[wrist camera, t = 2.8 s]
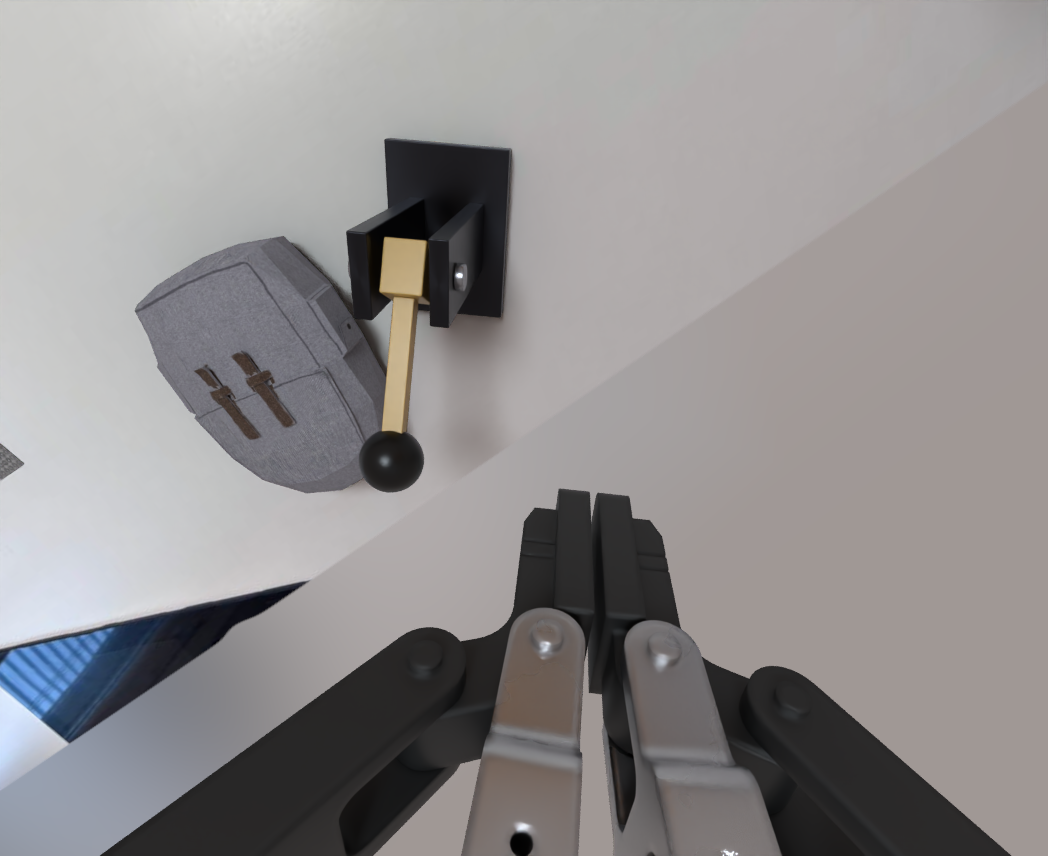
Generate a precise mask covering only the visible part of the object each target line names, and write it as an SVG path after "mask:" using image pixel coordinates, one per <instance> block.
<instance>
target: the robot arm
mask: <svg viewBox="0 0 1048 856" xmlns="http://www.w3.org/2000/svg"><path fill="white" fill-rule="evenodd" d="M587 647H588V675H589V693H596V694H602V704H603V719H604V724H603V729H602V735H603V745H604V754H605V764H606V774H607V782H608V792H609V802H610V811H611V821H612V830H613V847H614V848H613V856H1011V855H1010V854H1009V853H1008V852H1006V851H1005V850H1004V849H1003V848H1002V847H1001V846H1000V845H998V844H997V843H996V842H995V841H994V840H993V839H992V838H990V837H989V836H988V835H987V834H986V833H985V832H983V831H982V830H981V829H980V828H979V827H978V826H977V825H976V824H974V823H973V822H972V821H971V820H970V819H968V818H967V817H966V816H965V815H964V814H963V813H962V812H961V811H959V810H958V809H957V808H956V807H955V806H954V805H952V804H951V803H950V802H949V801H948V800H947V799H946V798H945V797H943V796H942V795H941V794H940V793H939V792H938V791H936V790H935V789H934V788H933V787H932V786H931V785H929V784H928V783H927V782H926V781H925V780H924V779H923V778H922V777H920V776H919V775H918V774H917V773H916V772H915V771H914V770H912V769H911V768H910V767H909V766H908V765H907V764H906V763H904V762H903V761H902V760H901V759H900V758H899V757H898V756H896V755H895V754H894V753H893V752H892V751H891V750H889V749H888V748H887V747H886V746H885V745H884V744H883V743H881V742H880V741H879V740H878V739H877V738H876V737H875V736H873V735H872V734H871V733H870V732H869V731H868V730H867V729H865V728H864V727H863V726H862V725H861V724H859V722H857V721H856V720H855V719H854V718H852V716H850V715H849V714H848V713H847V712H846V711H845V710H843V709H842V708H841V707H840V706H839V705H838V704H837V703H836V702H834V701H833V700H832V699H831V698H830V697H829V696H828V695H826V694H825V693H824V692H823V691H822V690H821V689H819V688H818V687H817V686H816V685H815V684H814V683H812V682H811V681H810V680H808V679H807V678H806V677H804V676H803V675H801V674H799V673H797V672H795V671H793V670H790V669H787V668H783V667H778V666H767V667H763V668H760V669H758V670H756V671H755V672H754V673H753V674H752V676H751V677H750V679H748V678H746V677H743V676H741V675H738V674H736V673H733V672H731V671H729V670H726V669H724V668H721V667H719V666H717V665H715V664H712V663H711V662H709V661H707V660H706V659H704V658H703V657H702V656H701V653H700V651H699V649H698V647H697V645H696V643H695V642H694V641H693V640H692V638H691V637H690V636H689V635H688V634H687V633H686V632H684V631H683V630H682V629H681V627H680V623H679V618H678V614H677V609H676V603H675V598H674V593H673V588H672V584H671V579H670V574H669V572H668V564H667V559H666V558H665V549H664V544H663V539H662V536H661V535H660V533H659V532H658V531H657V529H656V528H655V527H654V525H653V524H652V523H651V521H650V520H642V519H633V518H632V512H631V505H630V498H629V496H622V495H613V494H604V493H597V495H596V500H595V505H594V511H593V516H592V522H591V510H590V493H589V492H586V491H577V490H568V489H559V491H558V497H557V505H556V510H552V509H542V508H534V510H533V511H532V512H531V513H530V515H529V516H528V517H527V519H526V520H525V521H524V528H523V536H522V544H521V552H520V560H519V568H518V576H517V584H516V592H515V600H514V608H513V612H512V614H511V617H510V618H509V620H508V621H507V623H506V624H505V625H504V626H503V627H502V628H500V629H499V630H498V631H496V632H494V633H493V634H491V635H488V636H485V637H482V638H477V639H472V640H466V641H461V642H460V641H459V640H458V639H457V637H455V636H454V635H453V634H451V633H450V632H447V631H446V630H442V629H439V628H433V627H432V628H431V627H426V628H419V629H416V630H412V631H410V632H408V633H406V634H404V635H403V636H401V637H400V638H398V639H397V640H396V641H394V642H393V643H391V644H390V645H389V646H387V647H386V648H385V649H383V650H382V651H380V652H379V653H378V654H377V655H375V656H374V657H372V658H371V659H369V660H368V661H367V662H365V663H364V664H362V665H361V666H360V667H358V668H357V669H356V670H354V671H353V672H351V673H350V674H349V675H347V676H346V677H345V678H343V679H342V680H341V681H339V682H338V683H336V684H335V685H334V686H332V687H331V688H330V689H328V690H327V691H325V692H324V693H323V694H321V695H320V696H319V697H317V698H316V699H314V700H313V701H312V702H310V703H309V704H308V705H306V706H305V707H303V708H302V709H301V710H299V711H298V712H297V713H295V714H294V715H292V716H291V717H290V718H288V719H287V720H286V721H284V722H283V723H281V724H280V725H279V726H277V727H276V728H275V729H273V730H272V731H270V732H269V733H268V734H266V735H265V736H264V737H262V738H261V739H259V740H258V741H257V742H255V743H254V744H253V745H251V746H250V747H249V748H247V749H246V750H244V751H243V752H242V753H240V754H239V755H237V756H236V757H235V758H233V759H232V760H231V761H230V762H228V763H227V764H225V765H224V766H222V767H221V768H220V769H218V770H217V771H216V772H214V773H213V774H212V775H210V776H209V777H207V778H206V779H205V780H203V781H202V782H200V783H199V784H198V785H196V786H195V787H194V788H192V789H191V790H189V791H188V792H187V793H185V794H184V795H182V797H180V798H179V799H177V800H176V801H174V802H173V803H171V804H170V805H169V806H168V807H166V808H165V809H163V810H162V811H160V812H159V813H158V814H157V815H155V816H154V817H152V818H151V819H149V820H148V821H147V822H145V823H144V824H143V825H141V826H140V827H138V828H137V829H136V830H134V831H133V832H132V833H130V834H129V835H127V836H126V837H125V838H123V839H122V840H121V841H119V842H118V843H116V844H115V845H114V846H112V847H111V848H110V849H108V850H107V851H106V852H104V853H103V854H101V855H100V856H373V855H374V854H375V853H376V852H377V851H378V850H379V849H380V848H381V847H382V846H383V845H384V844H385V843H386V842H387V841H388V840H389V839H390V838H391V837H392V836H393V835H394V834H395V833H396V832H397V831H398V830H399V829H400V828H401V827H402V826H403V825H404V824H405V823H406V822H407V820H409V819H410V818H411V817H412V816H413V815H414V814H415V813H416V812H417V811H418V810H419V809H420V808H421V806H423V805H424V804H425V803H426V801H428V800H429V798H430V797H431V796H432V795H433V794H434V793H435V792H436V791H437V790H438V789H439V788H440V787H441V786H442V785H443V784H444V783H445V782H446V781H447V780H448V779H449V778H450V777H451V776H452V775H453V774H454V773H455V771H456V770H457V769H458V767H459V765H460V764H461V763H465V762H469V761H473V760H477V759H481V763H480V767H479V772H478V777H477V782H476V787H475V792H474V796H473V801H472V806H471V811H470V816H469V820H468V825H467V830H466V835H465V840H464V844H463V849H462V854H461V856H578V846H579V825H580V806H581V786H582V753H581V752H580V731H581V711H582V695H583V694H582V693H583V676H584V661H585V656H586V651H587Z"/></svg>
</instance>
